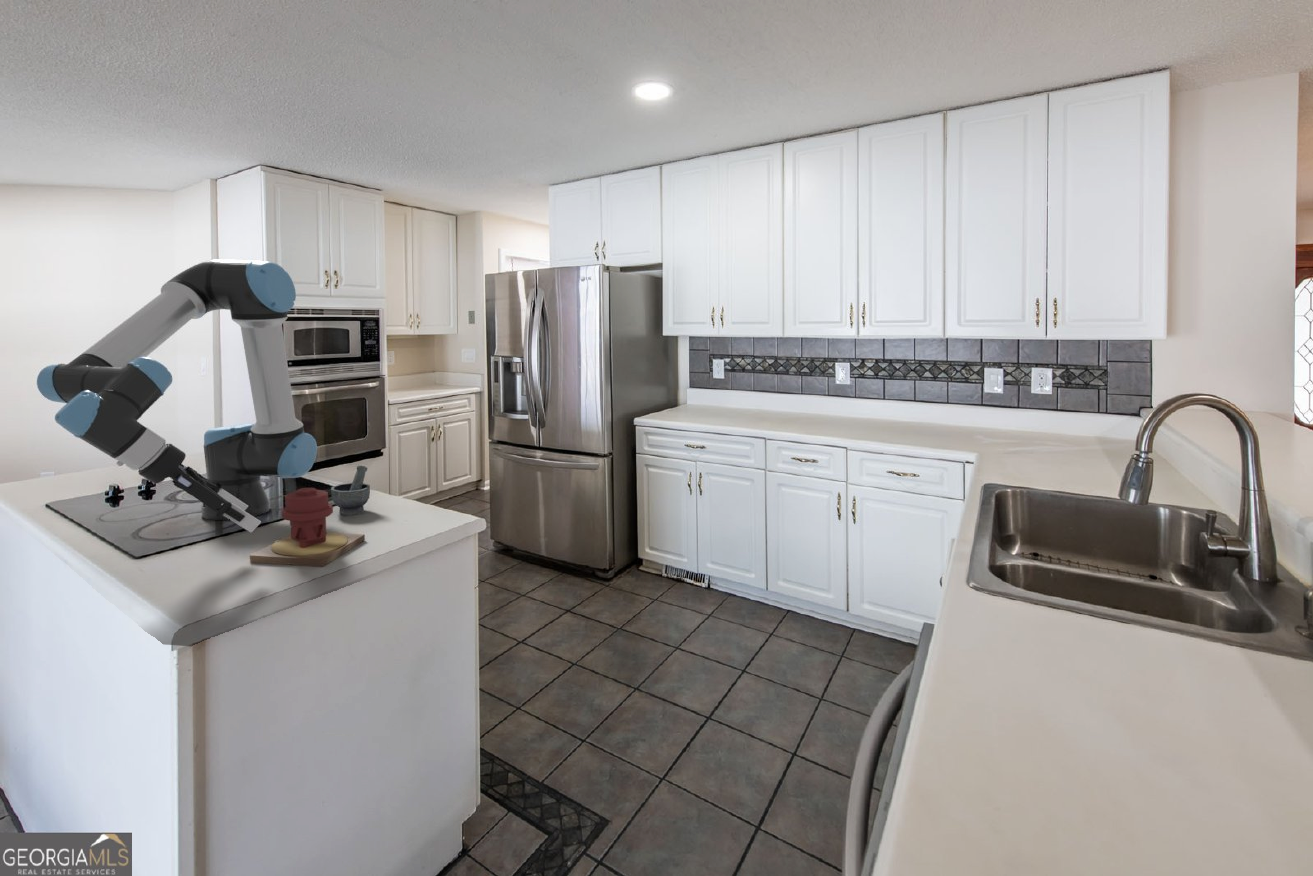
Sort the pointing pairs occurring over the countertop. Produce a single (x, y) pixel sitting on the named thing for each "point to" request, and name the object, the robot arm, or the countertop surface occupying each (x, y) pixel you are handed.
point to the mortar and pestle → (352, 494)
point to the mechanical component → (307, 515)
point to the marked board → (307, 550)
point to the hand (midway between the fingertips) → (249, 518)
